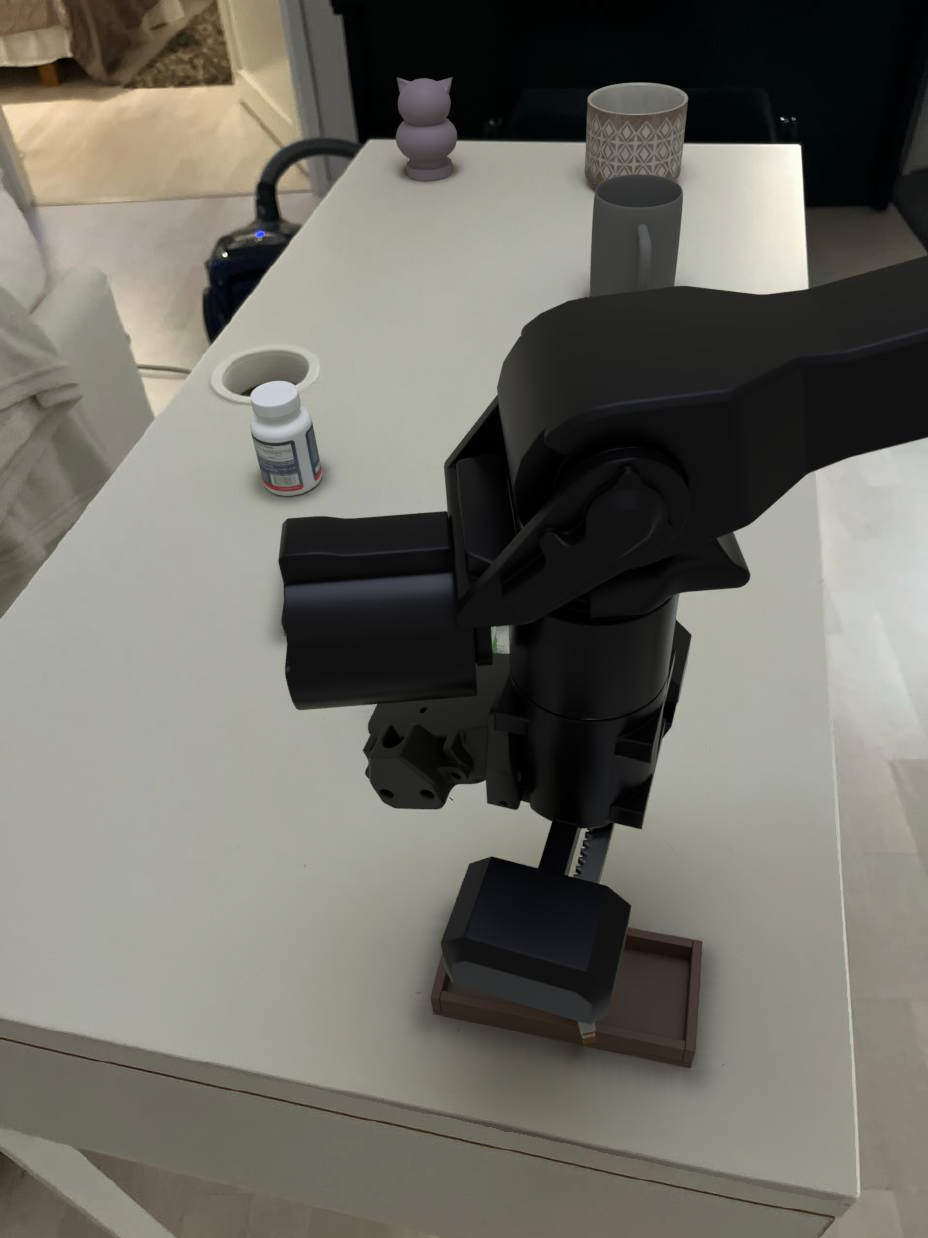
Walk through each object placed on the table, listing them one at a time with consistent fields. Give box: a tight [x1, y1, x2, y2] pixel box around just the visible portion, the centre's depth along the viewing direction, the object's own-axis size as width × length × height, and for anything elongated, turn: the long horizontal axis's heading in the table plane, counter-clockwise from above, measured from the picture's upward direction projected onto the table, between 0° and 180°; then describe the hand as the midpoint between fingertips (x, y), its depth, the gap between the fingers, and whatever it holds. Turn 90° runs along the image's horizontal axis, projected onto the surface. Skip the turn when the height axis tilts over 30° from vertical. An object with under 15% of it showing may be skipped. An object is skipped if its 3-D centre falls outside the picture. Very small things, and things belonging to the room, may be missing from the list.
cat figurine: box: [395, 76, 458, 182], centre depth 134 cm, size 8×8×12 cm
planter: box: [584, 82, 689, 187], centre depth 129 cm, size 13×13×10 cm
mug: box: [589, 174, 684, 297], centre depth 103 cm, size 14×9×12 cm
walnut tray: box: [430, 897, 703, 1069], centre depth 52 cm, size 14×6×2 cm, turn 77°
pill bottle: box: [249, 380, 323, 497], centre depth 84 cm, size 5×5×9 cm
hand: (575, 887), depth 46 cm, fingers open, 9 cm apart
